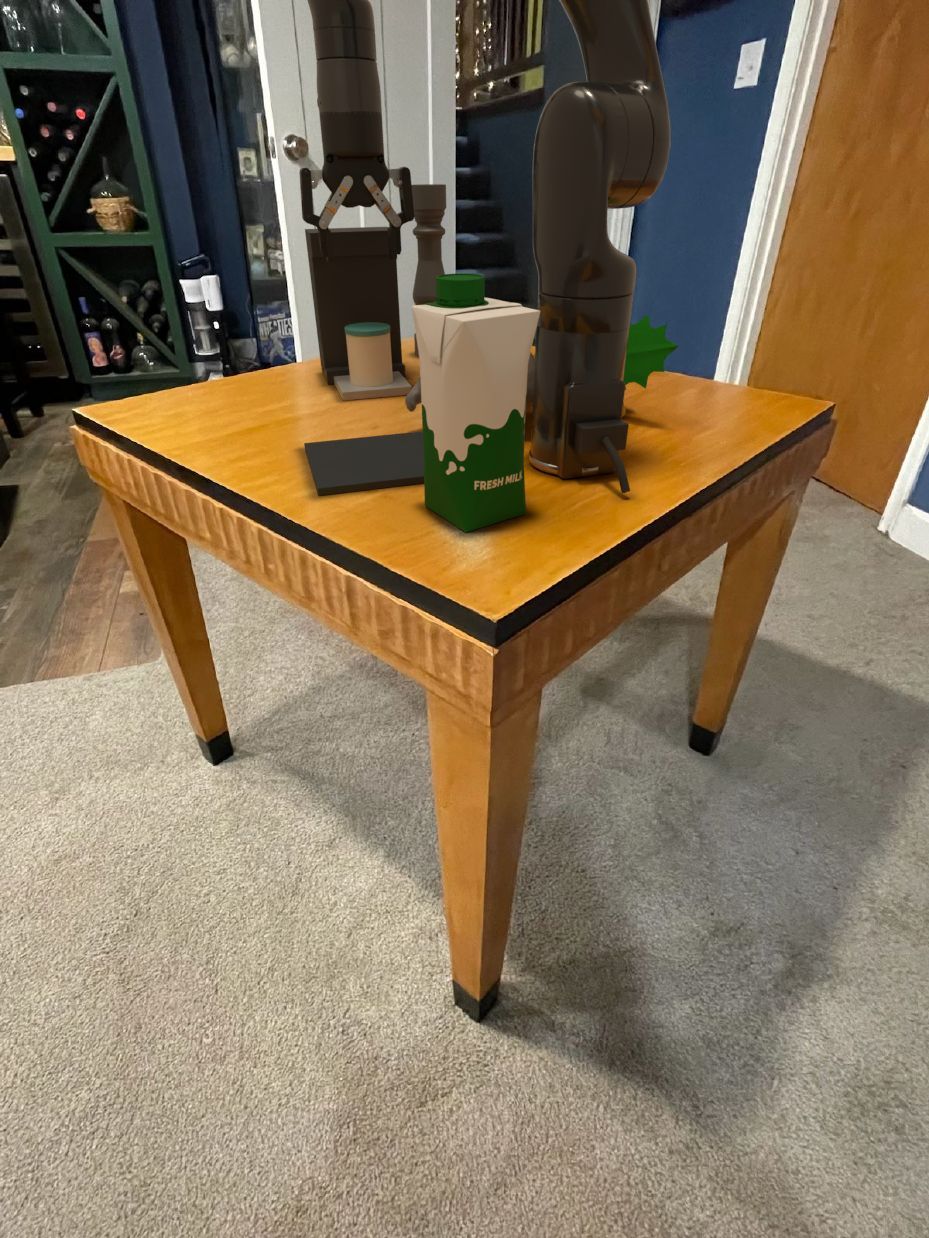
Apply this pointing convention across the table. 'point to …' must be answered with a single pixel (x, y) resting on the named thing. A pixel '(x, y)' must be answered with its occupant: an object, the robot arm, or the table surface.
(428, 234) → the candle holder
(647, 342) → the ornament
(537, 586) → the table surface
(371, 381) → the container
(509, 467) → the fresh milk carton
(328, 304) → the coffee maker
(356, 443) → the mat
